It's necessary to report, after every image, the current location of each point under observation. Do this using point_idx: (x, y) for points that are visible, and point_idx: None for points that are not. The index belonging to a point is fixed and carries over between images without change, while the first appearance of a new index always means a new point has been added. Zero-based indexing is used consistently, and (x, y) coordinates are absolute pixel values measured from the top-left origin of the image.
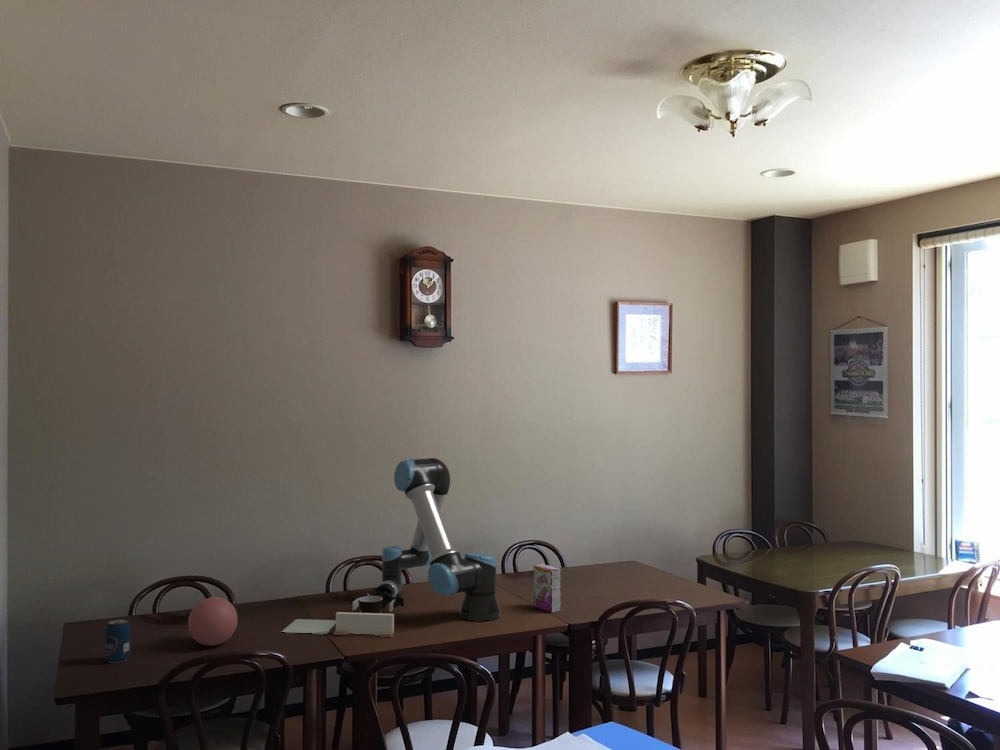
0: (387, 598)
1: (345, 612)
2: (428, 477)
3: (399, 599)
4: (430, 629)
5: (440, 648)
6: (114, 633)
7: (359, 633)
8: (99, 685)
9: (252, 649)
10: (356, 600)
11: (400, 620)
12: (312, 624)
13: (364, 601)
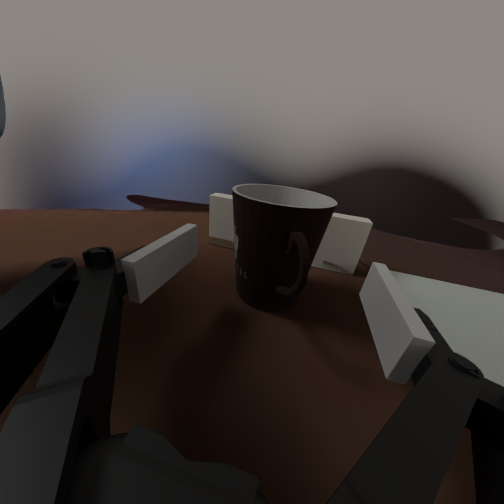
0: (96, 416)
1: (345, 218)
2: None
3: (50, 297)
4: (99, 246)
5: (157, 203)
6: None
7: None
8: (492, 223)
9: (449, 246)
10: (392, 291)
11: (123, 334)
12: (498, 339)
13: (300, 189)
